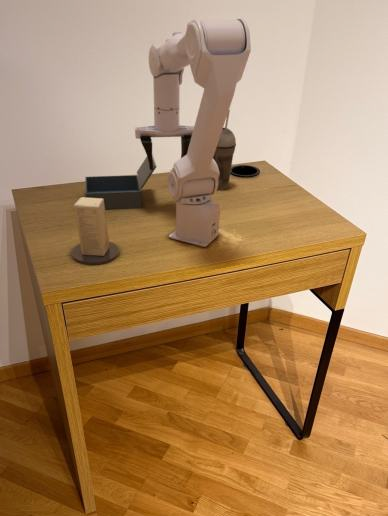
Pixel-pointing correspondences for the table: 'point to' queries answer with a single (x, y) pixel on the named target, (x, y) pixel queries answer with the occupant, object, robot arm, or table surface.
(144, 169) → the flap
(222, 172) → the beverage cup
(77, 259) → the coaster
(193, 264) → the table surface
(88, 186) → the carton
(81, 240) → the box
